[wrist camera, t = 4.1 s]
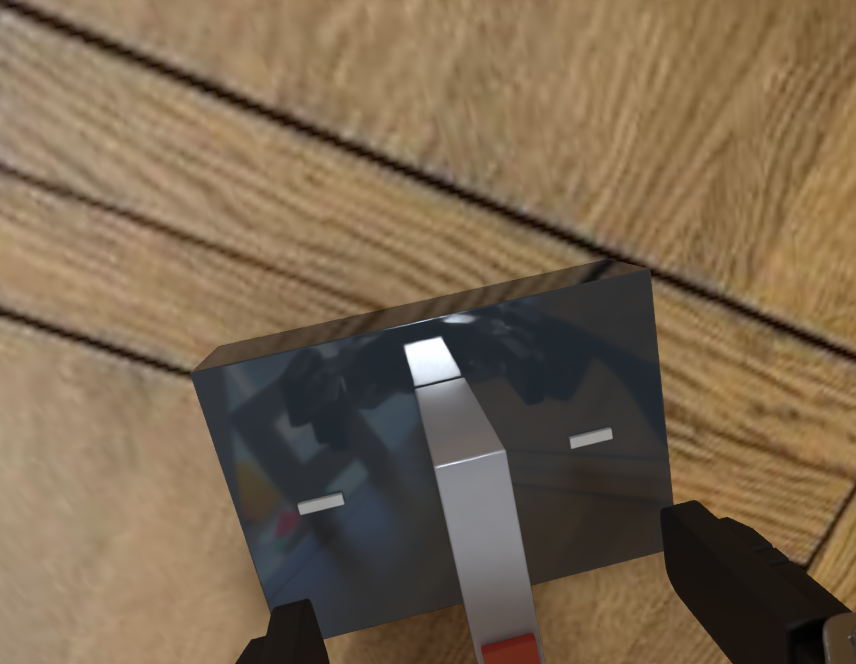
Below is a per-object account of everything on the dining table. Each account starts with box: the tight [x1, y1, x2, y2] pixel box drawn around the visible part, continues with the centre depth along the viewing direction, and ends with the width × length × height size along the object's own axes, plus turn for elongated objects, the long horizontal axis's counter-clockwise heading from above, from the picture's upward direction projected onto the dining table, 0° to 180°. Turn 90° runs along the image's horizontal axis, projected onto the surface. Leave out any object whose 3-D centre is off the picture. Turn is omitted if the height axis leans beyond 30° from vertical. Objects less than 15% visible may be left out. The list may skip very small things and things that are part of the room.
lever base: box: [190, 259, 674, 639], centre depth 18 cm, size 14×10×3 cm
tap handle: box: [414, 378, 545, 664], centre depth 14 cm, size 6×2×5 cm, turn 12°
